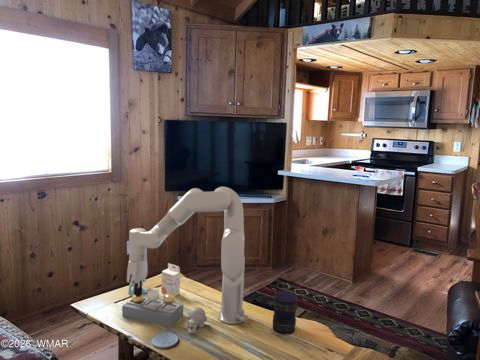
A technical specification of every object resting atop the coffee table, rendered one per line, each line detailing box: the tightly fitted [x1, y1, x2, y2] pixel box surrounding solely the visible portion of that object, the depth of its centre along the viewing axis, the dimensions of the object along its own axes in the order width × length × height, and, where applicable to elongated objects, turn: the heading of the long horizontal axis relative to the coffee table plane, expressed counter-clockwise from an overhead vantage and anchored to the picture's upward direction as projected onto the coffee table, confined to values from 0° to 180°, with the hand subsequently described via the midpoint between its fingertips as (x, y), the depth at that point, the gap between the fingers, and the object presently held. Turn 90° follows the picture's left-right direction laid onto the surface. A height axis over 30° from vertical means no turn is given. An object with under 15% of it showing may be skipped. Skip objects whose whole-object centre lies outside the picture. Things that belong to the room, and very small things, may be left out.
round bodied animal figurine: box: [186, 306, 208, 335], centre depth 158 cm, size 7×12×8 cm, turn 159°
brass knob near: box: [162, 293, 176, 304], centre depth 165 cm, size 5×5×3 cm
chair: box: [127, 278, 148, 297], centre depth 190 cm, size 8×8×12 cm
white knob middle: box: [147, 287, 160, 301], centre depth 167 cm, size 5×5×4 cm
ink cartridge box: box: [161, 262, 181, 297], centre depth 190 cm, size 9×5×15 cm, turn 58°
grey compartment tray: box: [121, 295, 184, 328], centre depth 168 cm, size 24×12×6 cm, turn 72°
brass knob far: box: [131, 294, 145, 304], centre depth 170 cm, size 5×5×3 cm
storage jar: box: [272, 290, 298, 336], centre depth 161 cm, size 10×10×15 cm
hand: (138, 294), depth 170 cm, fingers closed
